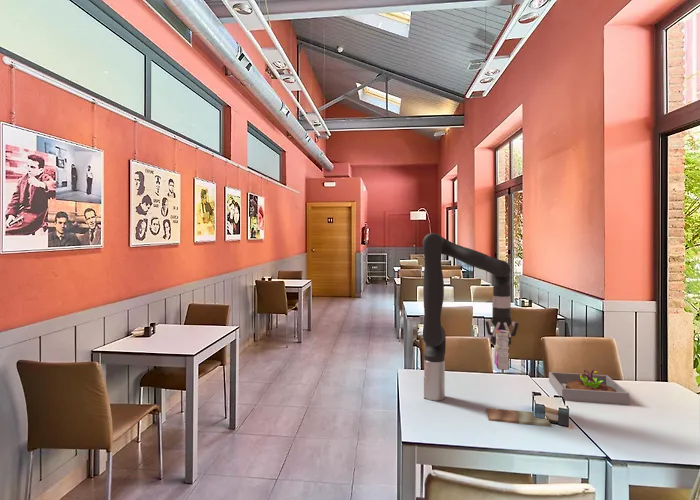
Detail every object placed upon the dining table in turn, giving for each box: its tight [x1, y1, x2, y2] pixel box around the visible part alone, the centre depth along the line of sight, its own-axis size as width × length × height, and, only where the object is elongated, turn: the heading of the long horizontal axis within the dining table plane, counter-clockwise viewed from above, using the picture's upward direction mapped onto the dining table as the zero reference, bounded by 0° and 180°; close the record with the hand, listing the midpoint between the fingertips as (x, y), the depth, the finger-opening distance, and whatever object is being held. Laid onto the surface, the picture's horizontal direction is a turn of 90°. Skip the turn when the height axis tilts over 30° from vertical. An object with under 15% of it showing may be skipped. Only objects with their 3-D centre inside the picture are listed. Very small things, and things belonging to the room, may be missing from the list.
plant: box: [565, 369, 616, 392], centre depth 203 cm, size 20×20×11 cm
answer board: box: [485, 408, 551, 427], centre depth 172 cm, size 23×11×2 cm, turn 76°
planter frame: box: [548, 371, 630, 406], centre depth 201 cm, size 27×27×5 cm
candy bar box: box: [493, 329, 510, 371], centre depth 185 cm, size 11×5×16 cm, turn 168°
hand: (501, 344), depth 185 cm, fingers closed on candy bar box, 5 cm apart
